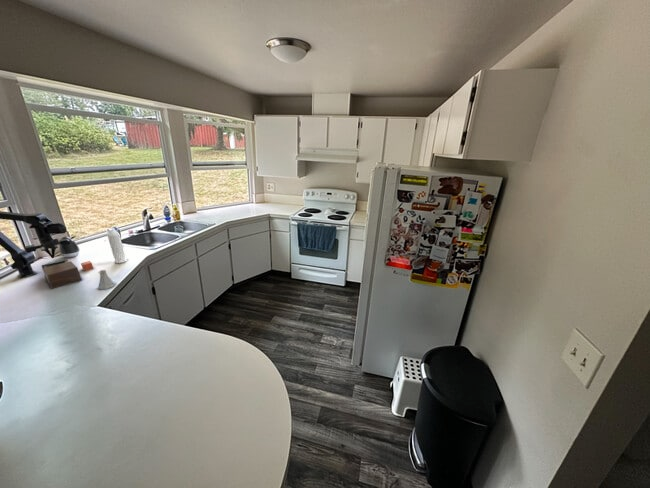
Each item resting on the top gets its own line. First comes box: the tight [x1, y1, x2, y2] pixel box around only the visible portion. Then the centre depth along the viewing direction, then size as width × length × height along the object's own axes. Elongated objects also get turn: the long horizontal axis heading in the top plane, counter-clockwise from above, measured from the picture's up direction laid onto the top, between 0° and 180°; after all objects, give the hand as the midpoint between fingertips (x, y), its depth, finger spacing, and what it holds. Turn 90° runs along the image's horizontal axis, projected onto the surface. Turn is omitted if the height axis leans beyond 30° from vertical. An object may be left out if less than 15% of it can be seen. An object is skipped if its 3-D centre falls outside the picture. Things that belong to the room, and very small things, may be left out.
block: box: [80, 260, 94, 272], centre depth 165 cm, size 4×4×4 cm
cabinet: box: [41, 260, 83, 289], centre depth 150 cm, size 15×13×9 cm
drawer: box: [41, 259, 69, 269], centre depth 156 cm, size 18×11×7 cm, turn 54°
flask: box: [97, 269, 116, 290], centre depth 144 cm, size 7×7×10 cm
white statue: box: [106, 227, 127, 264], centre depth 173 cm, size 9×6×25 cm
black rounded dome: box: [58, 235, 81, 258], centre depth 182 cm, size 10×10×15 cm
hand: (53, 257), depth 157 cm, fingers closed
